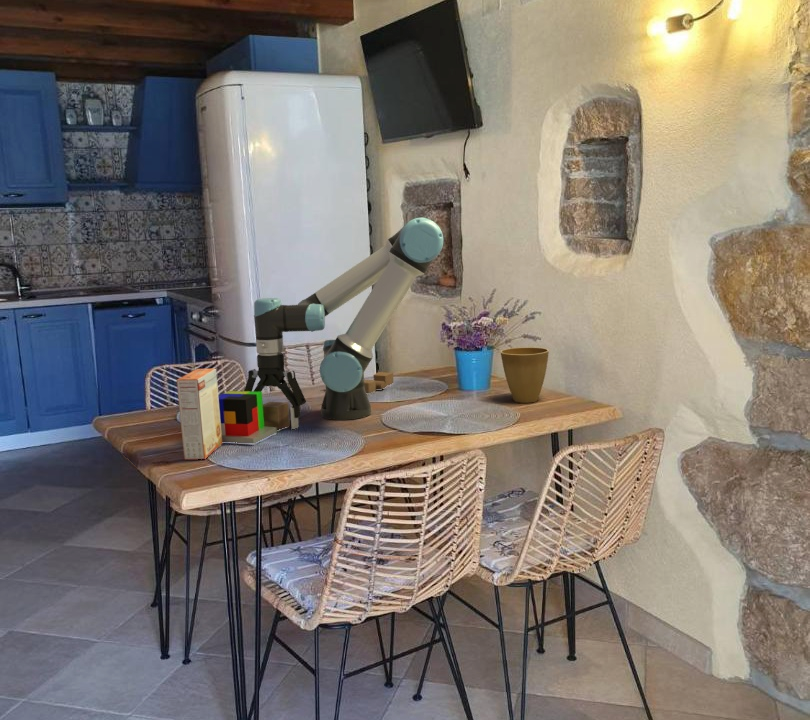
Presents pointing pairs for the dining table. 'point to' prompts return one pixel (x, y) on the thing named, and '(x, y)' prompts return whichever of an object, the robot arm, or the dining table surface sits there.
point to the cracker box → (199, 413)
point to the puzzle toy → (241, 413)
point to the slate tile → (251, 436)
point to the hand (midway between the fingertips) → (274, 427)
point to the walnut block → (276, 415)
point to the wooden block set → (378, 381)
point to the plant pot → (525, 372)
